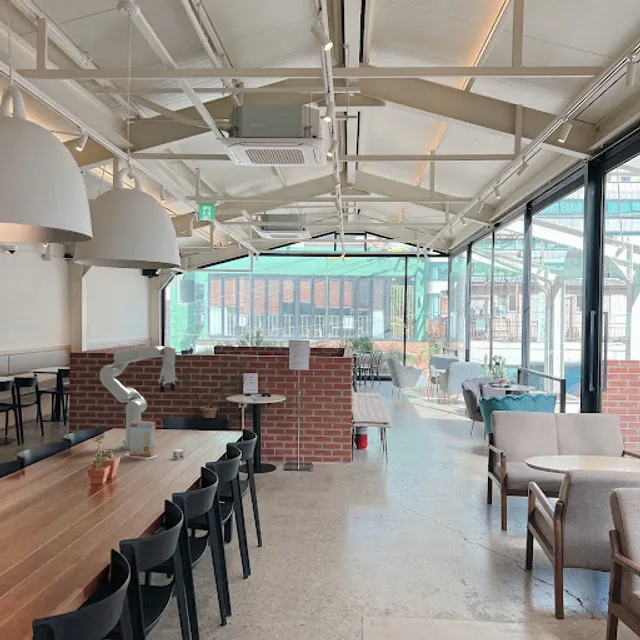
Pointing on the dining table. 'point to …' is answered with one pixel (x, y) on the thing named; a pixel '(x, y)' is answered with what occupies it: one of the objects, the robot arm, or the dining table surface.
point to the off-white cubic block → (178, 454)
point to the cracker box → (142, 438)
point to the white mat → (143, 457)
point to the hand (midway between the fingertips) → (167, 391)
